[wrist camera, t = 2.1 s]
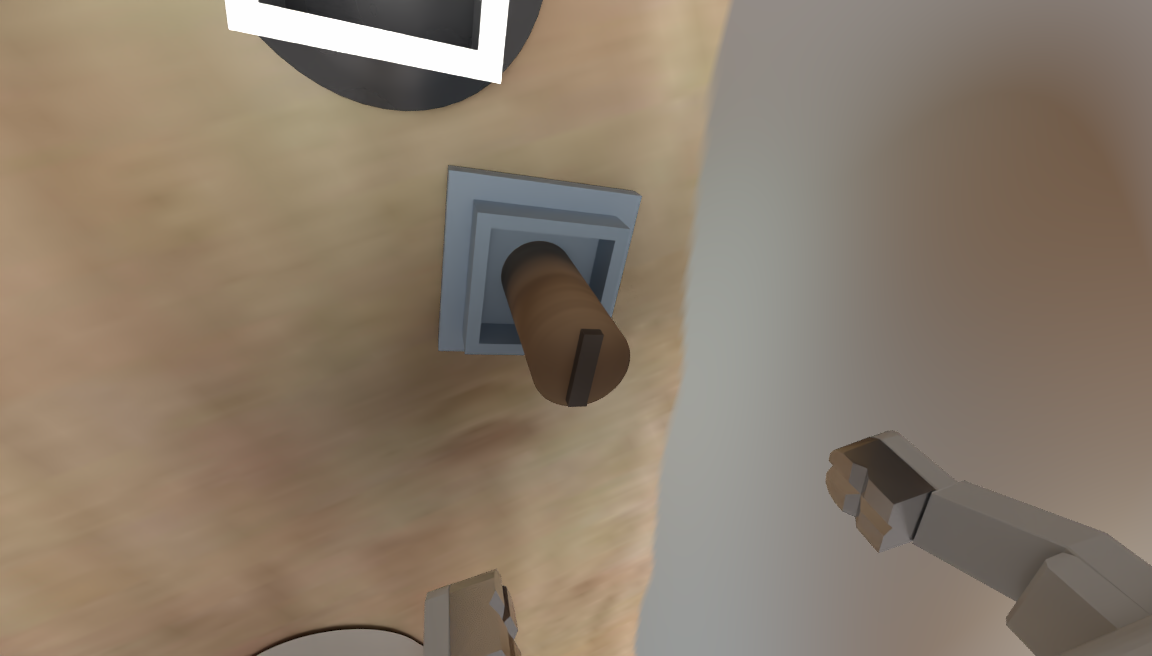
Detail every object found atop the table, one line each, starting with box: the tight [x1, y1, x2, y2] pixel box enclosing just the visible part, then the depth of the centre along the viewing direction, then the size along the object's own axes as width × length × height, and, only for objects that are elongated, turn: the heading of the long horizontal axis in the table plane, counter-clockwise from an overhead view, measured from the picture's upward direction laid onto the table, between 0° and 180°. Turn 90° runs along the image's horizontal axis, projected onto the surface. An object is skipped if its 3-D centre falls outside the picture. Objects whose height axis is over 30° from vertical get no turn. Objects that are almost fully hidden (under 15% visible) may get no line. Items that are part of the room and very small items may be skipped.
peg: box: [501, 241, 630, 407], centre depth 20 cm, size 4×4×8 cm
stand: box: [438, 165, 642, 355], centre depth 23 cm, size 9×9×3 cm
